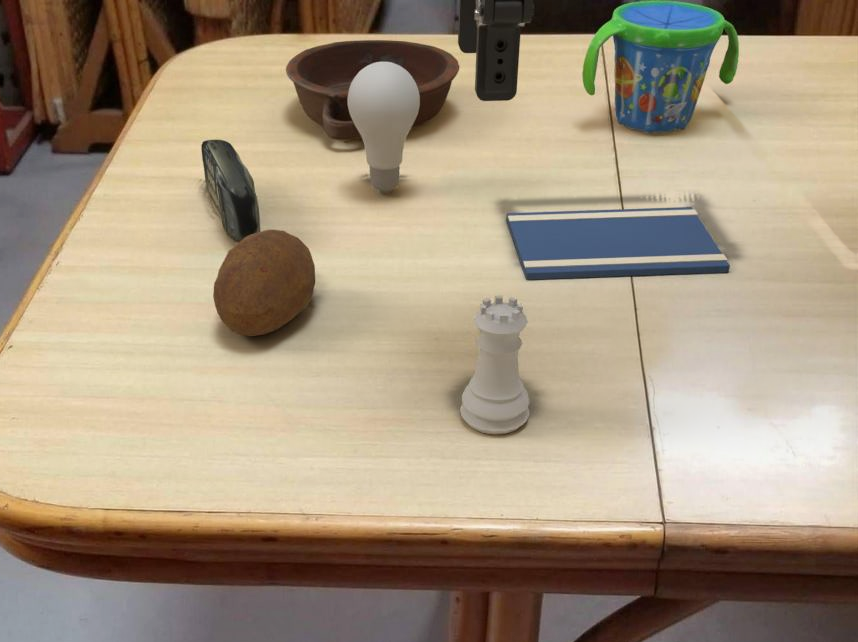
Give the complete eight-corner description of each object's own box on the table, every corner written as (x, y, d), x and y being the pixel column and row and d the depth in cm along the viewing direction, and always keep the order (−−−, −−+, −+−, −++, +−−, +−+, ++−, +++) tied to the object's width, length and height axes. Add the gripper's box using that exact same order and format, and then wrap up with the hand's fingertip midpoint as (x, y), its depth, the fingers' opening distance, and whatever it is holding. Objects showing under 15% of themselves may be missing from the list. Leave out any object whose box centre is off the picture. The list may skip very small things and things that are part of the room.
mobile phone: (194, 136, 93) (231, 198, 82) (228, 132, 94) (269, 193, 83) (201, 192, 96) (238, 259, 85) (234, 187, 97) (275, 253, 86)
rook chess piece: (456, 434, 67) (460, 321, 62) (463, 395, 71) (467, 285, 66) (527, 440, 67) (537, 326, 62) (530, 400, 70) (540, 290, 65)
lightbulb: (408, 175, 98) (408, 49, 91) (427, 202, 94) (429, 71, 87) (344, 182, 97) (339, 55, 90) (359, 210, 93) (355, 78, 86)
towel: (690, 213, 92) (692, 205, 92) (728, 272, 84) (730, 264, 83) (506, 219, 91) (506, 211, 91) (526, 280, 83) (526, 271, 83)
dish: (473, 84, 117) (475, 35, 114) (438, 160, 101) (439, 106, 98) (319, 74, 120) (316, 26, 117) (261, 147, 104) (256, 94, 101)
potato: (196, 344, 76) (183, 262, 72) (252, 282, 83) (244, 204, 79) (281, 359, 74) (274, 276, 70) (332, 294, 81) (328, 216, 77)
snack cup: (708, 100, 113) (727, -5, 106) (745, 137, 105) (769, 26, 98) (563, 108, 111) (574, 2, 105) (591, 146, 103) (604, 34, 97)
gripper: (611, -270, 46) (572, 115, 57) (553, -293, 57) (529, 35, 67) (437, -268, 45) (431, 120, 56) (411, -291, 56) (411, 38, 67)
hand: (485, 73), depth 62 cm, fingers open, 8 cm apart
